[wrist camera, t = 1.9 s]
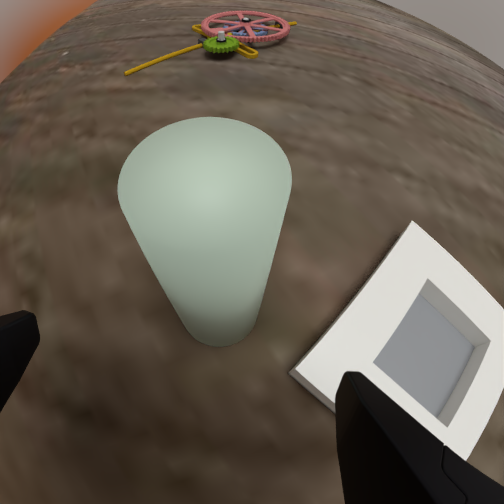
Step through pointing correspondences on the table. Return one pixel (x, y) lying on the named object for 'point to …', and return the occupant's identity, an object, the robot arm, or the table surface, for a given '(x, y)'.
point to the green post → (208, 219)
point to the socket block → (418, 342)
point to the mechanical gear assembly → (231, 35)
